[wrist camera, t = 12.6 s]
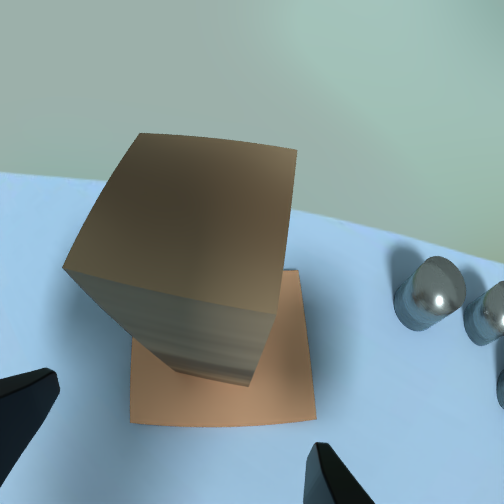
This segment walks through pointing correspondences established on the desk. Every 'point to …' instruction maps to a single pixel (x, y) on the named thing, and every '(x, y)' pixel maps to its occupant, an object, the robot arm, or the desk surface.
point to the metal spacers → (450, 304)
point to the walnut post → (191, 250)
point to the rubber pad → (229, 395)
